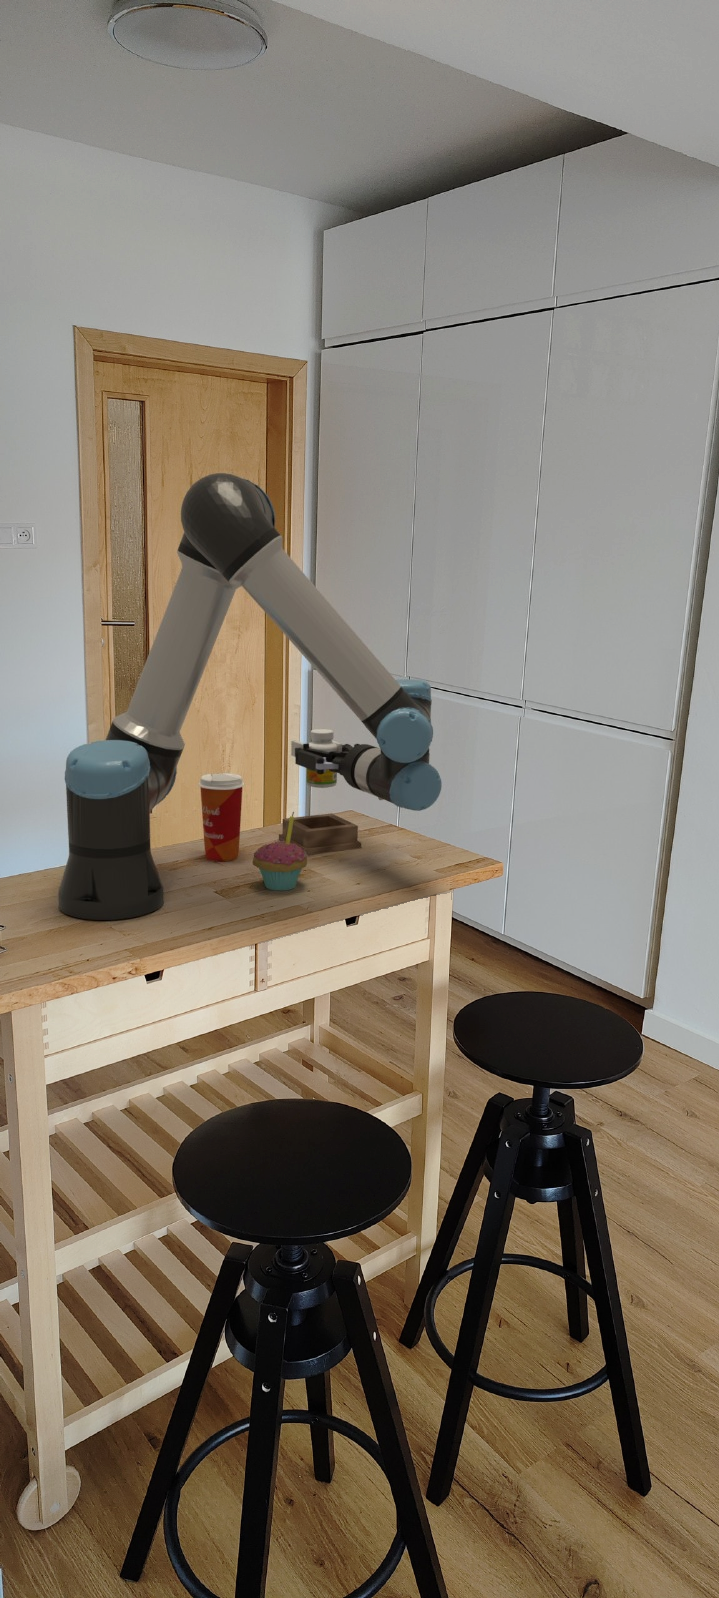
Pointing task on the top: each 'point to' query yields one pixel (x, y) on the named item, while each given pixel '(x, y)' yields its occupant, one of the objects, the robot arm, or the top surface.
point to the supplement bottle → (323, 743)
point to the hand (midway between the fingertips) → (308, 746)
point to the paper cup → (221, 815)
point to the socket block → (322, 833)
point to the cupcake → (280, 862)
